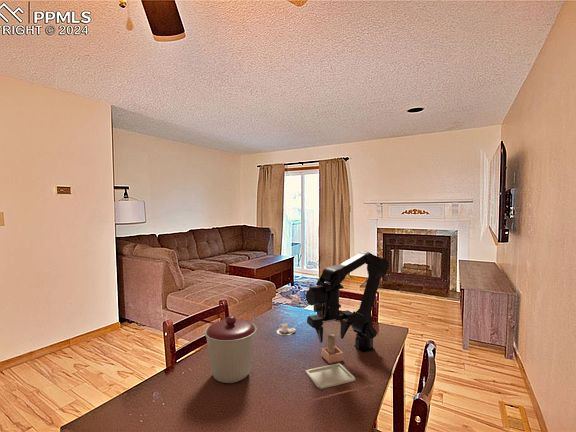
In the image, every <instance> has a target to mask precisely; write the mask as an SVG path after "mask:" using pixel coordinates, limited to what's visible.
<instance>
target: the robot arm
mask: <svg viewBox="0 0 576 432" xmlns="http://www.w3.org/2000/svg"><path fill="white" fill-rule="evenodd" d="M364 265H367V266H366V270H367V275H368V276H367V278H366V279H367V280H366V283H365V287H364V291H363V295H362V297H361V301H360V305H359V308H358V310H356V311H350V310H341V311H340V308H341V307H342V305H341V304H340V290H342V289H344V286H343V285H342V284H341V283H342V282H343V281H344V280H345V279H346V278H347V275H348V274H350V273H351V272H353V271H355V270H356V269H358V268H361V267H362V266H364ZM389 266H390V263H389V261H388V259H387V258H385V257H380V256H377V255H375V254H372V253H371V252H369V251H359V252H358V253H357V254H356V255H354V256H352V257H350V258H348V259H347V260H345V261H343V262H342V263H339V264H335V265H330V266H328V267H325V268H324V269H322V273H321V274H320V277H319V278H318V280H317V282H316V284H315V285H313V286H309V287H308V290H307V291H306V293H305V299H306V302H307V304H308V306H312V307H313V312H314V313H317V314H318V315H317V314H315V315H313V314H312V315H308V316H307V318H306V324H307V325H308V326H310V327H311V328H313V329H314V330H315V332H316V334H317V337H318V339H319V343H321V344H322V343H323V339H324V327H323V325H324V323H330V322H334V321H339V323H340V332H339V333H340V339H341V340H343V339H344V337H345V336H346V334H347V332H348V330H349V328H350V327H351V329H352V331H353V332H354V333H355V338H354V339H355V343H354V345H353V346H354V348H355V349H357V350H358V351H360V352H361V353H367V352H372V351H376V348H375V347H374V338H376V337H377V334H378V331H377V330H376V328H375V327H374V326H373V323H374V320H373V316H372V315H373V314H372V311H373V307H374V303H375V300H376V296H377V292H378V288H379V285H380V280H381V279H382V278H383V277H384V276H385V275H386V274H387V272H388V268H389ZM320 304H321V305H320ZM319 314H320V315H321V316H322V317H320V316H319Z"/></svg>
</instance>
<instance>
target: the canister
mask: <svg viewBox="0 0 576 432" xmlns="http://www.w3.org/2000/svg"><path fill="white" fill-rule="evenodd" d="M257 329H258V328H257V325H255V324H254V323H253V322H250V321H249V320H246V319H242V318H236V317H235V316H233V315H228V316H227V317H226V318H225V319H222V320H218V321H216V322H213V323H212V324H210V325H208V326H207V327H206V328H205V329H204V333H203V334H204V336H205V337H206V343H207V351H208V359H209V367H210V372H211V375H212V377H213V378H214V380H216V381H217V382H219V383H225V384H234V383H237V382H239V381H242V380H244V379H246V378H247V376H248V375H249V373H250V371H251V368H252V360H253V353H254V343H255V334H256V332H257Z"/></svg>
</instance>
